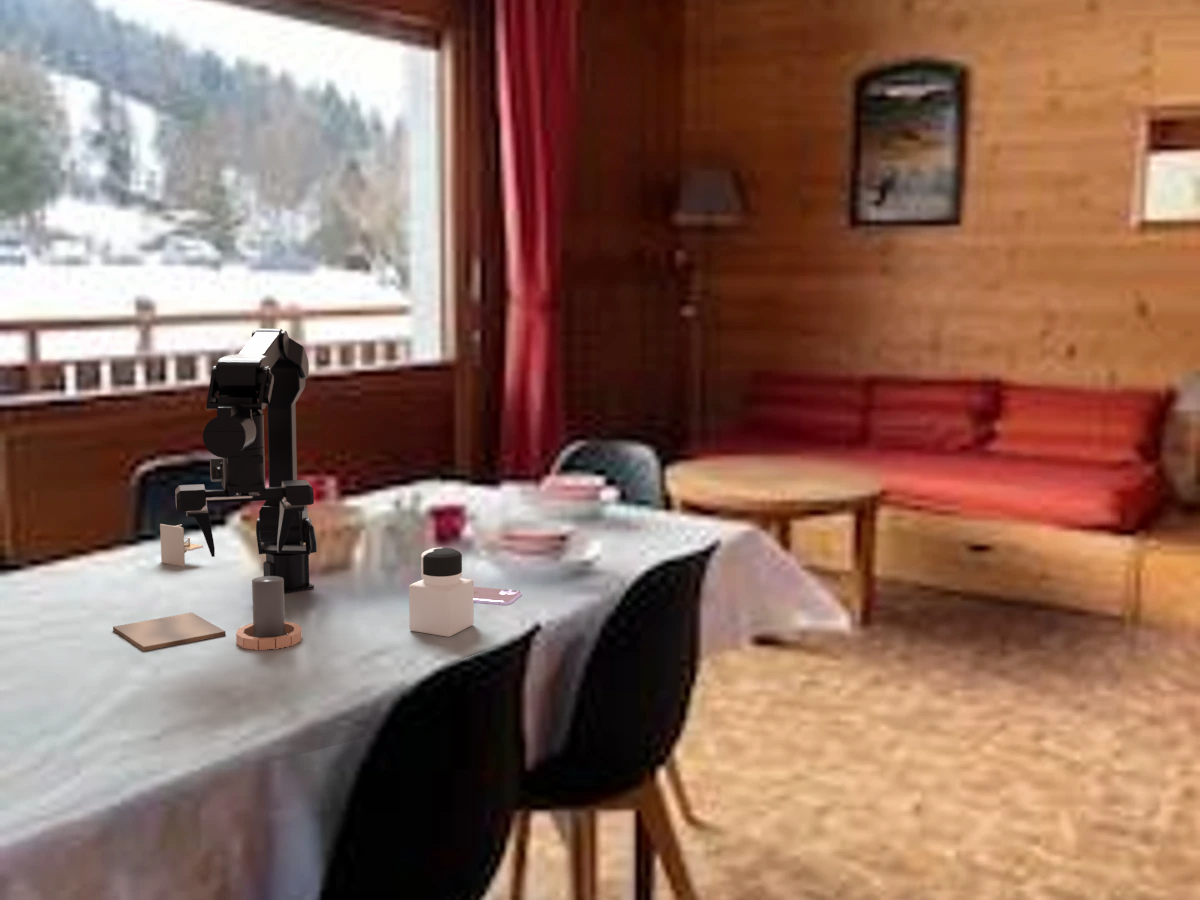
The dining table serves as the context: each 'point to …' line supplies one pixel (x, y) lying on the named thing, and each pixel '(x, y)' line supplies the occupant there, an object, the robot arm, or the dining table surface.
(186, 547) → the architectural model
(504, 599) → the mobile phone
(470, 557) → the dining table surface
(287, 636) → the orange segmented ring
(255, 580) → the cylinder
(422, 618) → the medicine bottle
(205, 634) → the coaster
